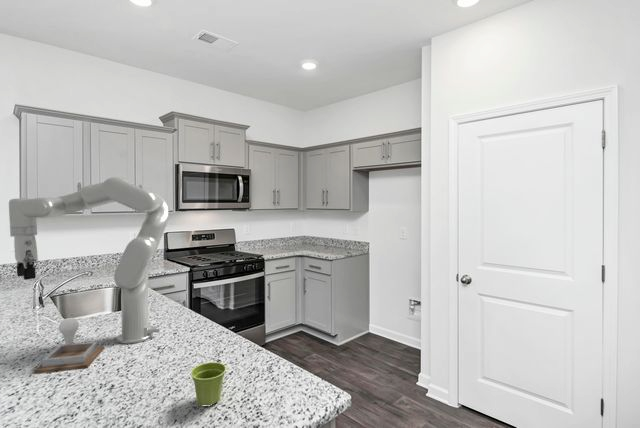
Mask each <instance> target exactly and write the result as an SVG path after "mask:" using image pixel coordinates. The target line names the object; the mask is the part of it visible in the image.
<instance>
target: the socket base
mask: <svg viewBox="0 0 640 428" xmlns="http://www.w3.org/2000/svg"><path fill="white" fill-rule="evenodd" d="M104 349H105V346H104V345H102V346H98V349H97V350H96V351H95V352H94V353H93V354H92V355H91V357H90V358H89V359H88V360H87V361H86V362H85V363H83V364H73V365H64V366H54V367H45V368H42V363H41V364H40V365H39V366H38V367H37V368H35V369H34V371H33V374H42V373H52V372H53V373H54V372H62V371H71V370H72V371H73V370H79V369H80V370H81V369H87V368H89V367H90V366H91V364H92V363H94V362H95V360H96V359H97V358H98V356H99V355H100V354H101V353H103V351H104ZM84 352H85V351H76V352H66V353H62V354H60V355H59V356H58V357H68V356H78V355H82V354H83V353H84Z"/></svg>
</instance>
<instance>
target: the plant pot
mask: <svg viewBox="0 0 640 428" xmlns="http://www.w3.org/2000/svg"><path fill="white" fill-rule="evenodd" d="M226 371H227V366H226V365H225V364H224V363H221V362H215V361H212V362H211V361H209V362H205V363H201V364H198V365H196V366H195V367H193V368H192V369H191V371H190V376H191V378H192V381H193V383H194V390H195V397H196V398H195V399H196V402H197V404H198V405H199V404H200V405H211V404H213V405H215V404H214V403H216V402H218V401H219V402H220V400H221V397H222V396H221V395H222V388H223V380H224V377H225V374H226ZM219 402H218V403H219ZM216 404H217V403H216ZM200 405H199V406H200Z"/></svg>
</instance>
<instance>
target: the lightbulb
mask: <svg viewBox="0 0 640 428" xmlns="http://www.w3.org/2000/svg"><path fill="white" fill-rule="evenodd" d="M79 323H80V322H79V320H78V319H77V318H74V317H67V318H65V319H63V320H61V322H60V323H59V325H58V330H59V332H60V333H61V335H62V336H63V340H64V343H65V344H64V345H67V344H75V343H74V341H75V337H76V333H77V331H78V329H79V327H80V324H79Z"/></svg>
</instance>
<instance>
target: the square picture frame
mask: <svg viewBox="0 0 640 428" xmlns="http://www.w3.org/2000/svg"><path fill="white" fill-rule="evenodd" d="M98 347H99V341H88V342H81V343H74V344H67V345H65V344H60V345H58V346H57V347H55V349H54V350H53V351H51V352H50V353H49V354H48V355H46V356H45V357H44V358H42V360H41V364H42V368H45V367H54V366H64V365H73V364H83V363H85V362H86V361H87V360H88V359H89V358H90V357H91V355H92V354H93V353H94V352H95V351H96V350H97V349H98ZM76 351H85V352H84V353H83V354H82V355H78V356H68V357H58V356H59V355H60V354H62V353H66V352H76Z"/></svg>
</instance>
